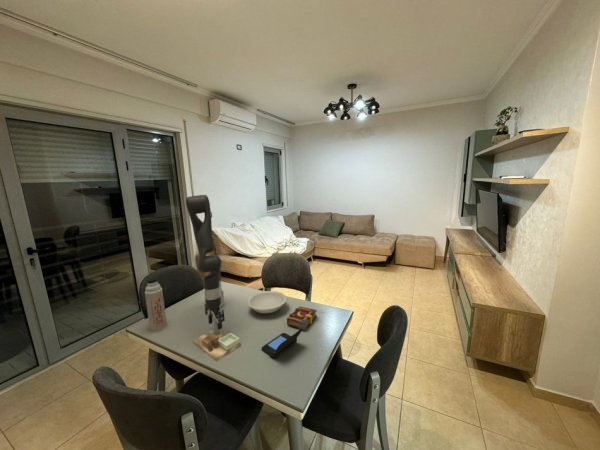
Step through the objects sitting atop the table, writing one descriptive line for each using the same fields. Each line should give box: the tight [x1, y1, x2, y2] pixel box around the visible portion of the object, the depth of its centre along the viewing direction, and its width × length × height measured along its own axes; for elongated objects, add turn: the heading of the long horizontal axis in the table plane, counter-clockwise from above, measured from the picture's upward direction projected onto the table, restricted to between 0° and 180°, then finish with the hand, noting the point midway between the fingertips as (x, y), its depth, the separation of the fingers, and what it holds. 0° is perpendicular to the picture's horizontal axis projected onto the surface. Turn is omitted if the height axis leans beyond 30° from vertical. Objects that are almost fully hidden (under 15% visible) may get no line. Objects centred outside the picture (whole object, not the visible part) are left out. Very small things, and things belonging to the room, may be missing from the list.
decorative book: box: [286, 306, 318, 331], centre depth 136 cm, size 11×16×5 cm
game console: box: [261, 329, 304, 359], centre depth 113 cm, size 16×14×9 cm
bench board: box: [192, 329, 241, 362], centre depth 118 cm, size 13×21×5 cm, turn 50°
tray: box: [218, 332, 241, 351], centre depth 116 cm, size 7×7×2 cm
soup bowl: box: [246, 290, 288, 314], centre depth 149 cm, size 24×24×7 cm
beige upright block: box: [202, 334, 219, 349], centre depth 116 cm, size 6×5×3 cm
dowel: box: [211, 315, 221, 335], centre depth 124 cm, size 4×4×10 cm
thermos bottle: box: [144, 278, 168, 333], centre depth 130 cm, size 8×8×28 cm
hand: (215, 325), depth 123 cm, fingers open, 8 cm apart
